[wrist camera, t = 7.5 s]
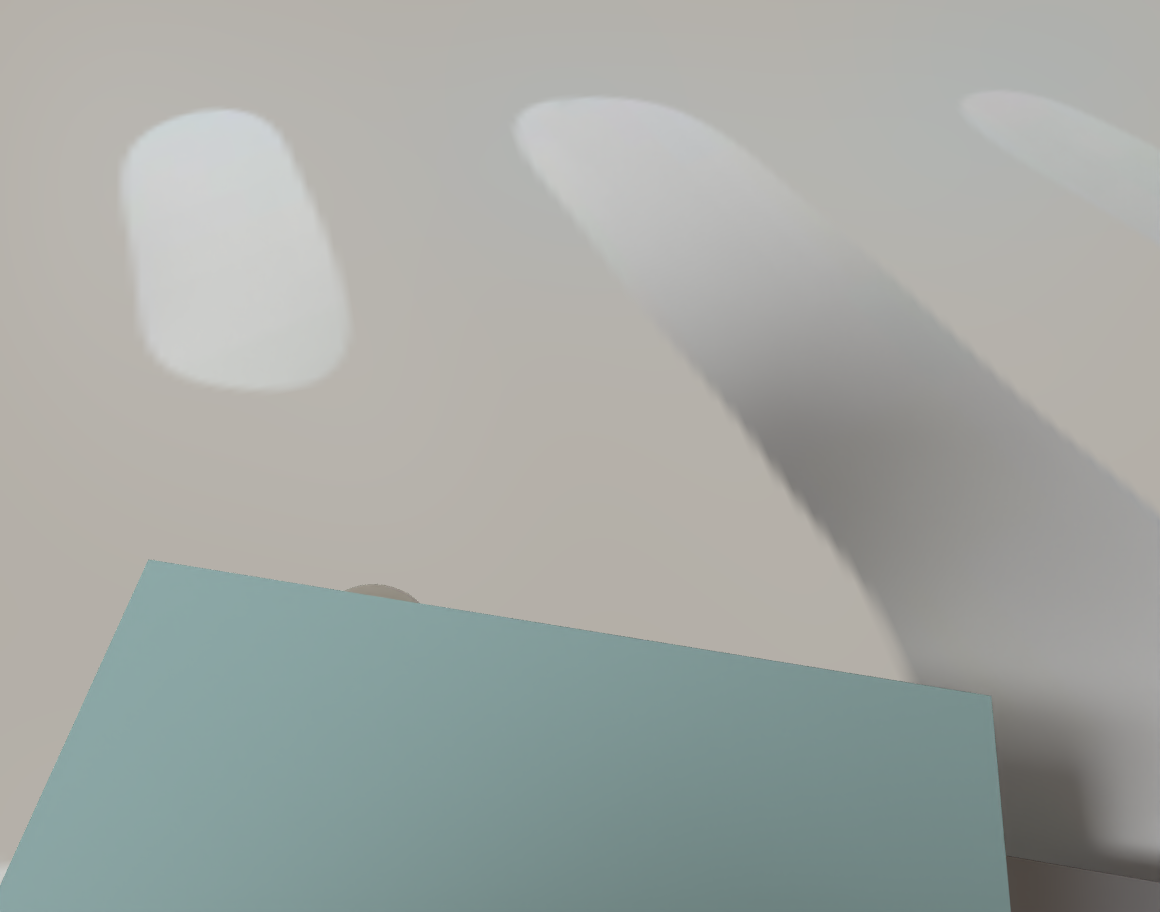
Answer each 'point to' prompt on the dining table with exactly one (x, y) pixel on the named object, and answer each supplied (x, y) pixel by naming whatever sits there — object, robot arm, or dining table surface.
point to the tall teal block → (493, 770)
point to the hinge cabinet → (1076, 889)
